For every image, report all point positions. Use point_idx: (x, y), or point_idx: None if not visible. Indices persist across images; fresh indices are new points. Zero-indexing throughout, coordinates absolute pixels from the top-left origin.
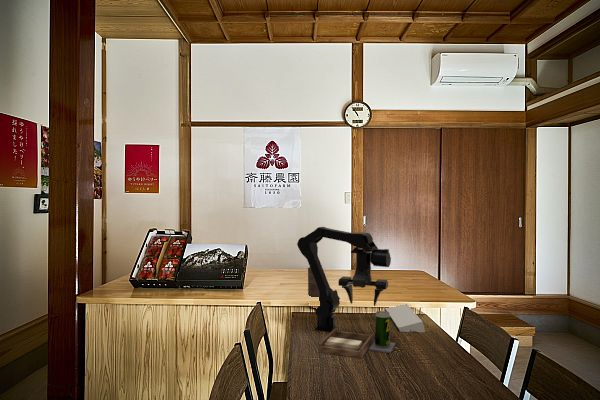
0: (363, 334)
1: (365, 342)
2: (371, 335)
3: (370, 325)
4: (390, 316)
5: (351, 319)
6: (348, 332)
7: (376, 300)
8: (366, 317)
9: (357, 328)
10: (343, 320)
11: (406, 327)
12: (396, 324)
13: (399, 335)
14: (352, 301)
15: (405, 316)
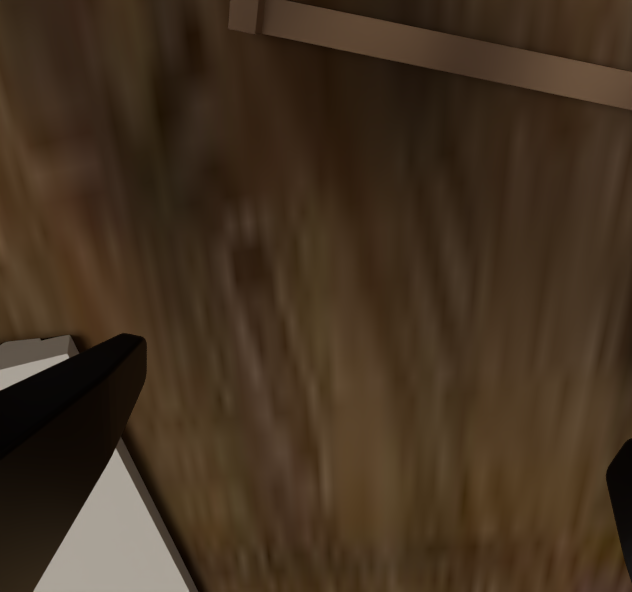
0: (368, 40)
1: None
2: None
3: (315, 444)
4: (190, 584)
5: (459, 542)
6: (556, 84)
7: (2, 399)
8: (350, 578)
9: (421, 369)
10: (525, 521)
11: (4, 361)
12: None
13: (55, 249)
14: (615, 505)
15: None
